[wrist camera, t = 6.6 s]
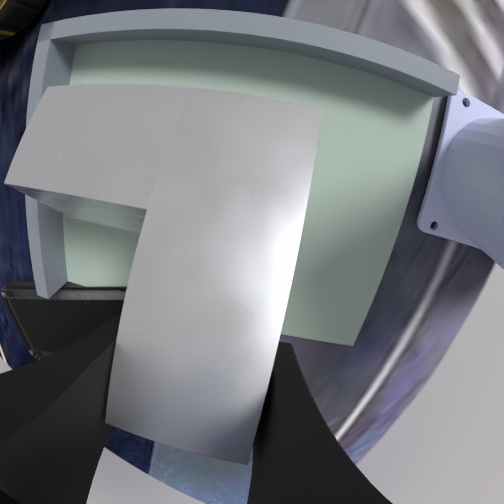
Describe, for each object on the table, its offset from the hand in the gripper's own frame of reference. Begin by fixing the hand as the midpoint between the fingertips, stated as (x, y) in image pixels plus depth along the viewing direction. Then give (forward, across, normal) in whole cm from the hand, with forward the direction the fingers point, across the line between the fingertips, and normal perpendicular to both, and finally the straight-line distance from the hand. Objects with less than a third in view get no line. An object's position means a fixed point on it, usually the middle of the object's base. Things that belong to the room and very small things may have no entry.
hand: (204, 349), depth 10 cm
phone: (+9, +11, +9) cm, 17 cm away
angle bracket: (+4, +3, -1) cm, 5 cm away
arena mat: (+8, +2, -4) cm, 9 cm away
